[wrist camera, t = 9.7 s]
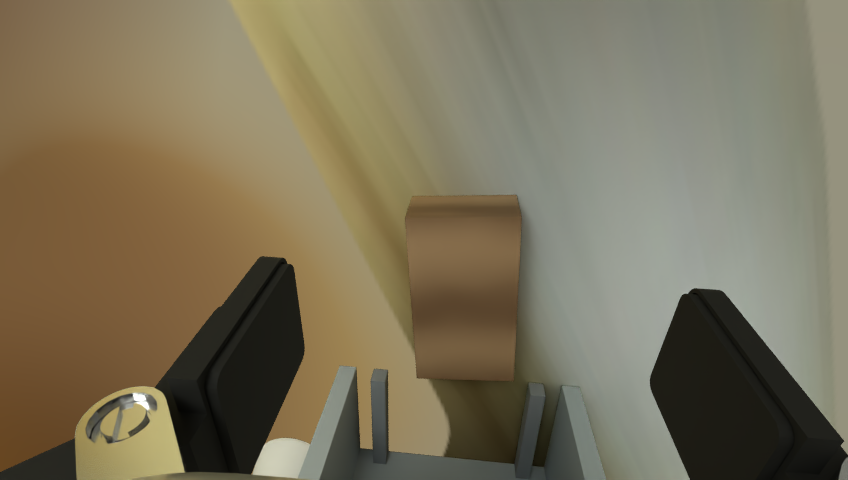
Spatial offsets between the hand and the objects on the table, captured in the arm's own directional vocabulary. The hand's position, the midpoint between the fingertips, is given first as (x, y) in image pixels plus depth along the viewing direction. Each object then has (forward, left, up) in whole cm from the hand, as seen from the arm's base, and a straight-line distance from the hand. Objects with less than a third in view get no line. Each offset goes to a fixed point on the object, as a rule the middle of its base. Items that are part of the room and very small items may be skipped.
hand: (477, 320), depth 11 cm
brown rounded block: (+8, 0, -16) cm, 18 cm away
